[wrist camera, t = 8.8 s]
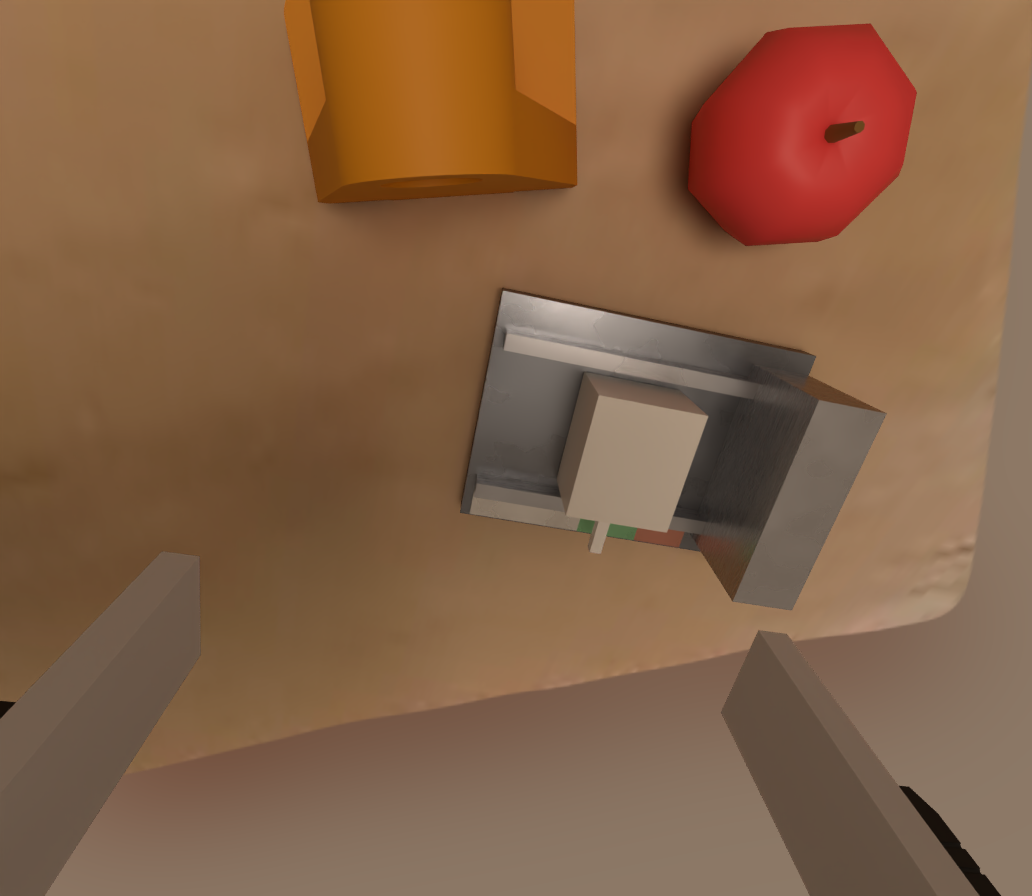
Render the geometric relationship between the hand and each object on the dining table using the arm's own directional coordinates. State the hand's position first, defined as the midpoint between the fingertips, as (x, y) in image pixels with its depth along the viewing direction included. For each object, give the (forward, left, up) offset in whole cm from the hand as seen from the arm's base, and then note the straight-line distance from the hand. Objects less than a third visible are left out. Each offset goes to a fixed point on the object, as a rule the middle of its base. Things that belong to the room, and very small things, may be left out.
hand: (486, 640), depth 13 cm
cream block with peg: (+7, -1, -16) cm, 18 cm away
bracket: (-5, +13, -18) cm, 23 cm away
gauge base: (+7, 0, -17) cm, 19 cm away
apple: (+9, +14, -18) cm, 25 cm away
